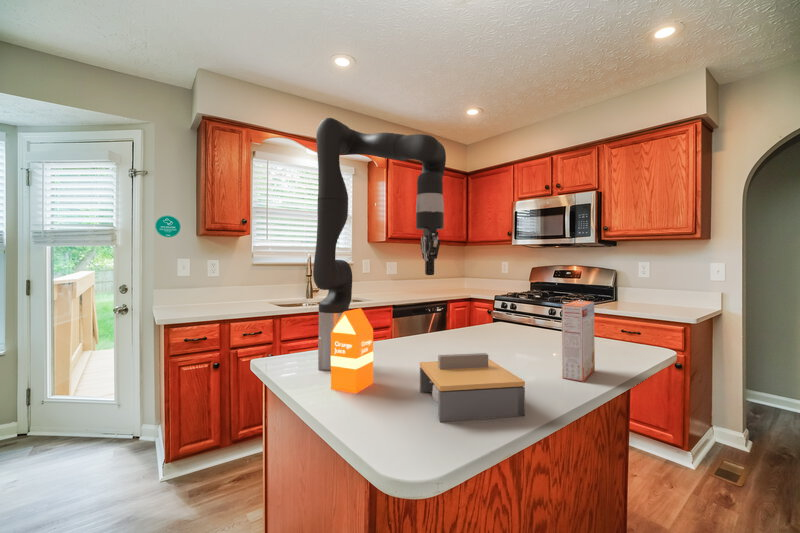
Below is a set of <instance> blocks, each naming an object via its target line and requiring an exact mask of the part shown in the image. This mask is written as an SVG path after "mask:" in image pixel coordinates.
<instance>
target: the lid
mask: <svg viewBox="0 0 800 533" xmlns="http://www.w3.org/2000/svg"><path fill="white" fill-rule="evenodd" d="M437 356H438V357H437V361H420V362H419V368H420V367H421V368H422V369H423V371H424V372H425V373H426V374H427V376H428V377H429V378H430V379H431V381H432V382H433V383H434V384H435V385H436V387H437V388H438V389H439V390H440V391H451V390H468V389H485V388H502V387H519V386H523V387H525V386H526V384H525V382H526V381H525V380H523V379H522V378H520V377H518V376H517V375H515V374H514V373H513V372H511V371H509V370H507V369H505V368H504V367H502V366H501V365H500V364H499V363H496V362H495V361H493V360H492V359H489V354H488V353H487V352H484V353H483V352H478V353H476V352H474V353H456V354H455V353H454V354H438V355H437Z"/></svg>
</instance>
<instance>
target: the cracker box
mask: <svg viewBox="0 0 800 533" xmlns="http://www.w3.org/2000/svg"><path fill="white" fill-rule="evenodd" d="M561 335H562V336H561V338H562V339H561V342H562V343H561V350H562V351H561V355H562V356H561V358H562V359H561V360H562V364H561V365H562V366H561V367H562V379H564V380H570V381H577V382H581V383H584V382H585V381H586V380H587V379H588V378H589V377H590V376H591V374H593V372H595V370H596V364H595V363H596V361H595V359H596V358H595V357H596V356H595V349H596V348H595V301H589V300H588V301H587V300H586V301H585V300H574V301H571V302H567V303H566V304H562V305H561Z"/></svg>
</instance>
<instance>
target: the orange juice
mask: <svg viewBox="0 0 800 533" xmlns="http://www.w3.org/2000/svg"><path fill="white" fill-rule="evenodd" d="M372 384H374V328H373V327H372V325H371V323H370V322H369V320H368V318H367V316H366V314H365V312H364V311H363V309H362V308H356V309H351V310H350V309H349V311H345V312H344V313H343V314H342V316H341V318H340V319H339V321H338V323H337V324H336V326H335V327H334V329H333V331H332V332H331V370H330V390H333V391H334V390H335V391H341V392H346V393H352V394H357V393H359V392H361V391H363V390H365V389H366V388H368V387H369V386H370V385H372Z"/></svg>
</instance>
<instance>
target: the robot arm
mask: <svg viewBox="0 0 800 533" xmlns="http://www.w3.org/2000/svg"><path fill="white" fill-rule="evenodd" d="M315 135H316V136H315V137H316V151H317V154H316V155H317V167H318V169H317V170H318V171H317V175H318V176H317V180H318V181H317V182H318V188H317V189H318V190H317V213H316V214H317V222H316V223H317V225H316V226H317V227H316V244H315V251H314V252H315V253H314V261H313V269H312V270H313V271H312V275H313V276H312V278H313V281H314V283H315V285H316V287H317V288H318V289H319V290H323V291H328V293H327V295H326V297H325V298H324V299H323V300H321V301H320V302H319V303H318V341H317V342H318V343H317V344H318V346H317V347H318V350H317V352H318V353H317V354H318V355H317V359H318V361H317V364H318V365H317V368H318V370H324V371H331V332H332V331H333V329H334V327H335V326H336V324H337V323H338V321H339V319H340V318H341V316H342V314H343V313H344V312H345V311H350V305H351V301H352V293H353V271H352V268H351V265H350V264H349V262H347V261H346V260H344V259H336V248H337V243H338V240H339V237H340V235H341V234H342V231H343V229H344V228H345V225H346V223H347V222H348V216H349V194H348V189H347V186H346V183H345V180H344V177H343V174H342V170H341V166H340V156H353V155H356V156H357V155H361V156H365V155H366V156H374V157H379V158H385V159H389V160H390V159H391V160H394V161H395V160H397V161H408V160H413V161H418V162H421V164H422V170H421V173H420V174H419V175H417V176H418V177H417V180H416V194H417V195H416V201H415V202H416V205H415V228H416V230H419V231H420V230H421V231H423V232H422V236H421V238H420V244H419V245H420V250H421V256H422V259H423V260H424V261H423V262H424V274H425V275H426V276H434V275H435V262H436V260H437V259H438V255H439V249H440V244H441V240H440V239H439V236H438V230H443V229H444V225H445V224H444V217H445V214H444V213H445V212H444V210H445V209H444V206H445V204H444V197H443V196H444V195H443V191H444V190H443V188H444V187H443V186H444V185H443V184H444V183H443V178H444V174H445V168H446V161H447V155H446V154H447V153H446V148H445V147H444V145H443V144H442V143H441V142H440V141H439V140H438V139H437V138H436V137H434V136H432V135H429V134H425V133H424V134H423V133H422V134H421V133H420V134H419V133H418V134H417V133H416V134H407V135H406V134H402V133H395V132H376V133H363V132H360V131H357V130H355V129H351V128H350V127H349V126H348V125H346V124H345V123H342V122H341V121H339V120H337V119H335V118H332V117H326V118H324V119H322V120H321V122H319V124H318V127H317V129H316V134H315Z"/></svg>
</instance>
